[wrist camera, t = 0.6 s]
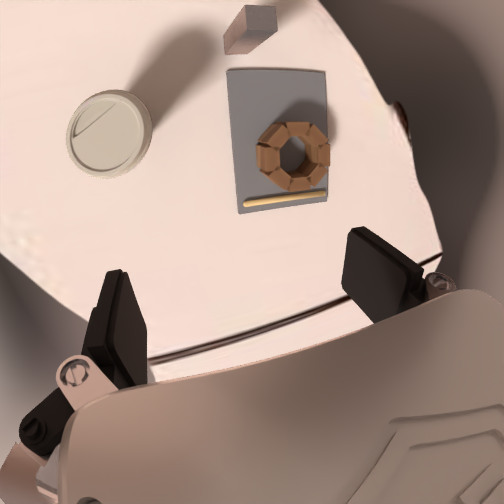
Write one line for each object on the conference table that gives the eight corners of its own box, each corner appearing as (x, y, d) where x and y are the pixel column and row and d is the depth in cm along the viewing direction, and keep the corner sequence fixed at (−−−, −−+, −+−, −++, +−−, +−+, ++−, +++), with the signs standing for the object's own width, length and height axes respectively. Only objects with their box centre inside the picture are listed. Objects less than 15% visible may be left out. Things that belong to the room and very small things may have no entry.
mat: (226, 71, 29) (228, 69, 28) (322, 73, 32) (327, 72, 31) (238, 213, 39) (240, 216, 37) (325, 200, 42) (329, 202, 40)
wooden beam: (223, 35, 26) (244, 4, 17) (245, 35, 27) (275, 6, 18) (224, 54, 28) (246, 29, 19) (247, 54, 29) (277, 30, 19)
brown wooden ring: (254, 123, 33) (263, 123, 29) (315, 121, 35) (329, 122, 31) (258, 187, 37) (267, 195, 34) (316, 180, 39) (329, 187, 36)
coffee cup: (159, 96, 28) (152, 82, 18) (158, 160, 32) (151, 178, 22) (95, 103, 26) (60, 96, 16) (96, 166, 30) (64, 188, 20)
